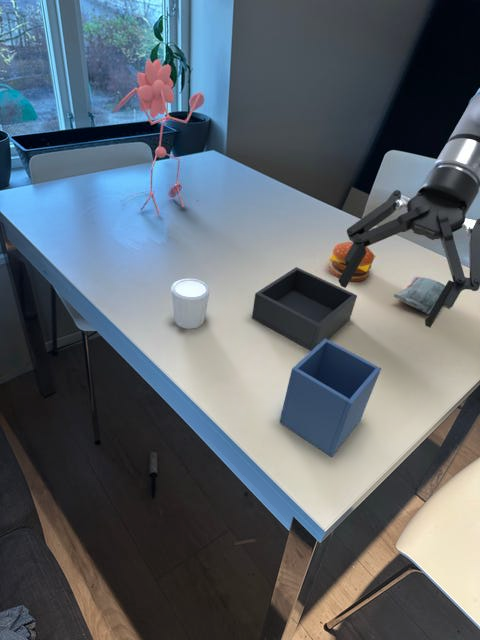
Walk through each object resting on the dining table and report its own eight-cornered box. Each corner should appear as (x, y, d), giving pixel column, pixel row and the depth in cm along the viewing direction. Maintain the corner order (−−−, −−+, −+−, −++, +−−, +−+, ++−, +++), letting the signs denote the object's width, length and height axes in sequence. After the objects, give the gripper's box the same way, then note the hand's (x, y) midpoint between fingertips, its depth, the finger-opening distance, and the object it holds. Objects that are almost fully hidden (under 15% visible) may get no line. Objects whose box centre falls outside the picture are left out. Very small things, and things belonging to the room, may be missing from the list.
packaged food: (390, 304, 95) (397, 285, 92) (410, 284, 102) (418, 265, 99) (429, 323, 91) (439, 304, 88) (448, 300, 99) (457, 282, 96)
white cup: (191, 304, 88) (193, 273, 83) (215, 321, 84) (217, 290, 80) (163, 317, 83) (163, 285, 79) (186, 335, 80) (187, 303, 76)
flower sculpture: (206, 200, 129) (214, 62, 108) (137, 226, 112) (131, 68, 90) (168, 184, 135) (168, 51, 114) (98, 206, 118) (83, 54, 97)
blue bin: (360, 420, 68) (381, 368, 62) (331, 457, 62) (351, 403, 56) (310, 390, 72) (325, 338, 66) (279, 422, 66) (291, 368, 60)
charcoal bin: (349, 319, 89) (357, 295, 86) (313, 352, 80) (320, 327, 76) (291, 290, 95) (296, 266, 92) (251, 317, 86) (255, 293, 83)
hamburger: (371, 268, 107) (380, 243, 103) (363, 287, 100) (371, 261, 96) (334, 256, 109) (340, 232, 105) (323, 274, 102) (329, 248, 98)
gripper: (540, 220, 64) (466, 349, 63) (379, 169, 75) (315, 277, 74) (553, 194, 57) (471, 337, 56) (375, 142, 68) (304, 260, 67)
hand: (382, 303), depth 65 cm, fingers open, 13 cm apart
